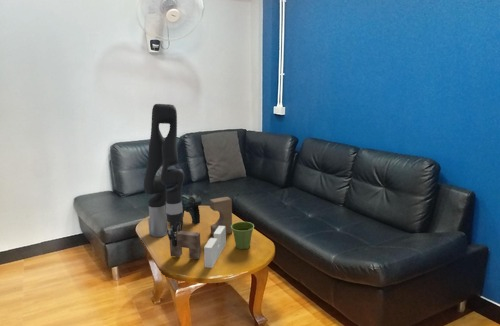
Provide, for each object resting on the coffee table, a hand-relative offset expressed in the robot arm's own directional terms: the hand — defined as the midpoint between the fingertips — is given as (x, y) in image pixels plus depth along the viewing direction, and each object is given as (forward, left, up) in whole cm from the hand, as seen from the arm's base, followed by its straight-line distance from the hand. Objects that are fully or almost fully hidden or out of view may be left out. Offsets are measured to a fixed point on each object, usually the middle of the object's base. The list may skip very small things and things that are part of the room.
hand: (176, 244), depth 165 cm
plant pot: (+29, +17, -7) cm, 34 cm away
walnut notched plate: (+4, 0, -6) cm, 7 cm away
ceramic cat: (-11, +44, -7) cm, 46 cm away
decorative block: (+14, +30, -7) cm, 34 cm away
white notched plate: (+18, +6, -7) cm, 20 cm away
